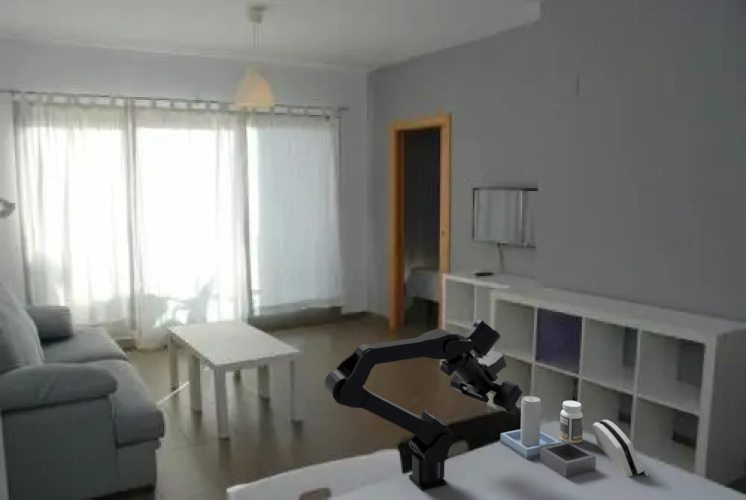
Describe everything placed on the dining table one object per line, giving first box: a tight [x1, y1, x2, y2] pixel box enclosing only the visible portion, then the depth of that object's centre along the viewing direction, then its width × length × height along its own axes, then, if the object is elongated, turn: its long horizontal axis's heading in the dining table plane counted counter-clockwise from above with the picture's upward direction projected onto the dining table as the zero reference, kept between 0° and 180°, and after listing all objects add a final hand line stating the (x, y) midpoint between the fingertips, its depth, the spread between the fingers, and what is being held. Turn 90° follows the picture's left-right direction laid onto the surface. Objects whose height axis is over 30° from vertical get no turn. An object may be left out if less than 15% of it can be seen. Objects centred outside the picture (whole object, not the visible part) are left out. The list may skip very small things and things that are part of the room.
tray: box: [500, 428, 562, 460], centre depth 149 cm, size 11×11×2 cm
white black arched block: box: [591, 419, 649, 477], centre depth 142 cm, size 17×5×10 cm, turn 2°
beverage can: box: [520, 395, 542, 447], centre depth 148 cm, size 5×5×12 cm
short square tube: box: [539, 441, 597, 479], centre depth 138 cm, size 9×9×4 cm
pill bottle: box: [559, 400, 584, 444], centre depth 153 cm, size 6×6×10 cm
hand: (501, 406), depth 140 cm, fingers open, 9 cm apart
